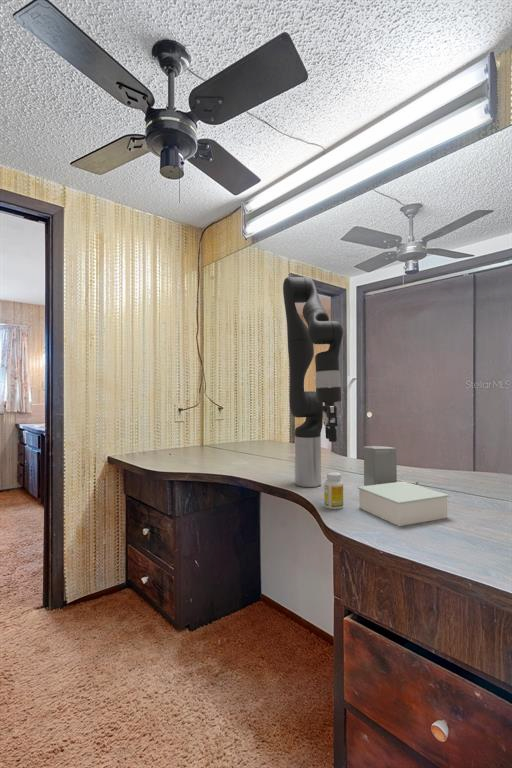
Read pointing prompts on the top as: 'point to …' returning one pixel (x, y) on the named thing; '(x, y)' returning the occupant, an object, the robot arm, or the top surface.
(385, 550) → the top surface
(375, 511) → the podium
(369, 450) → the skincare box
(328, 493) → the supplement bottle
